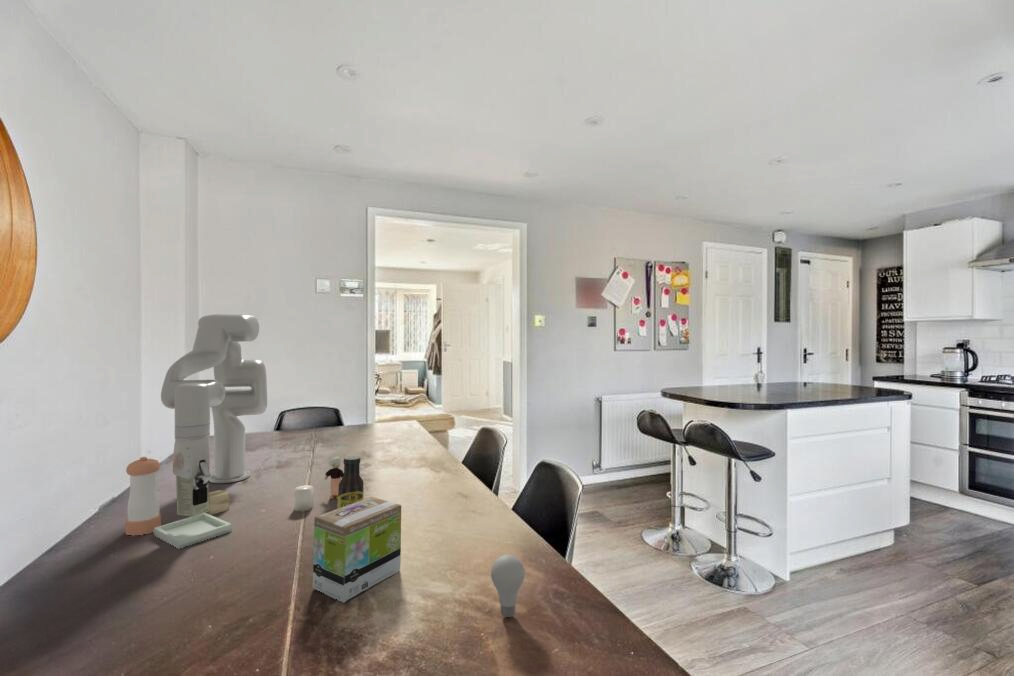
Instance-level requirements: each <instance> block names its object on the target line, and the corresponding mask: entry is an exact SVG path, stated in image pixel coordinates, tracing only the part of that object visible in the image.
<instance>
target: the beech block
mask: <svg viewBox="0 0 1014 676" xmlns="http://www.w3.org/2000/svg"><path fill="white" fill-rule="evenodd" d="M229 499H230V493H229V492H227V491H224V490H221V489H218V490H214V491H209V511H208V512H205V513H207V514H209V515H212V516H213V515H216V514H219V513H222V512H225V511H228V510H230V506H229V505H230V501H229Z"/></svg>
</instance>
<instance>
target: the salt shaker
mask: <svg viewBox="0 0 1014 676" xmlns="http://www.w3.org/2000/svg"><path fill="white" fill-rule="evenodd" d="M160 468H161V464H160V462H159V460H157V459H153V458H147V456H141V457H139V459H137V460H134V461H132V462H130V463H129V464H128V465H127V467H126V469H125V470H126V474H127V475H128V476H129V477H130V478H129V486H130V487H129V489H130V490H129V495H128V502H127V505H126V506H127V510H126V511H127V518H126V519H125V535H126V534H127V535H141V534H146V535H148V534H147V533H149V534H152V533H151V532H153V531H154V528H155V527H158V526H162V514H161V512H160V497H159V493H158V488H157V487H158V486H157V485H158V484H157V483H158V481H157V472H158V471H159V470H160ZM153 533H154V532H153ZM127 535H126V536H127ZM141 536H142V535H141Z"/></svg>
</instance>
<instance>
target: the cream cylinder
mask: <svg viewBox="0 0 1014 676" xmlns="http://www.w3.org/2000/svg"><path fill="white" fill-rule="evenodd" d="M311 508H312V509H313V508H314V486H313V485H309V484H308V485H307V484H306V485H300V486H297V487H295V488H294V511H295V512H298V511H302V512H307V510H308V511H310V510H312V509H311Z"/></svg>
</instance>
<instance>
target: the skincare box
mask: <svg viewBox="0 0 1014 676" xmlns="http://www.w3.org/2000/svg"><path fill="white" fill-rule="evenodd" d="M200 475H202V474H201V473H200V474H196V476H200ZM175 479H176V484H175V485H176V488H175V489H176V514H177V515H179V516H184V517H195V516H198V515H200V514H203V513H205V512H208V511H209V493H210V489H209V486H208V487H207V502H206V503H203V504H199V505H195V506H194V505H193V492H192V490H193V489H194V485H193V478H192V479H190V480H188V479H185V478H182V477H179V476H177V475H175ZM201 479H202V478H201ZM201 479H197V482H199V481H200V480H201Z"/></svg>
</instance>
